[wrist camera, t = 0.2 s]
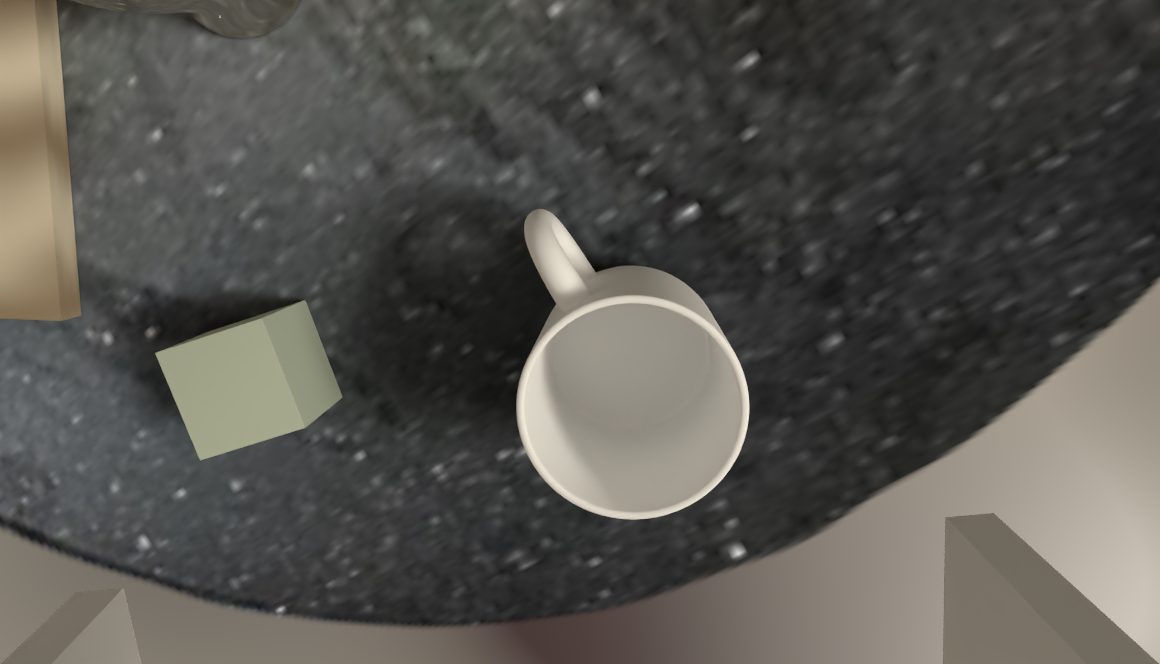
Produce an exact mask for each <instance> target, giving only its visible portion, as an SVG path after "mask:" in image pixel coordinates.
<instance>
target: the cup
mask: <svg viewBox="0 0 1160 664" xmlns="http://www.w3.org/2000/svg"><path fill="white" fill-rule="evenodd" d="M524 235H525V240H526V244H527V247H528V250H529V252H530V255H531V257H532V260H533V262H534V264H535V266H536V268H537V270H538V272H539V274H540V276H541V278H542V280H543V282H544V283H545V285H546V287H547V289H548V290H549V292H550V294H551V296H552V297H553V299H554V301H555V303H556V305H555V307H554V308H553V310H552V312H551V313H550V315H549V317H548V319H547V321H546V323H545V325H544V327H543V329H542V331H541V333H540V335H539V337H538V339H537V341H536V343H535V345H534V347H533V349H532V351H531V353H530V355H529V357H528V359H527V361H526V363H525V365H524V368H523V370H522V374H521V377H520V380H519V385H518V390H517V400H516V414H517V423H518V428H519V433H520V437H521V440H522V443H523V446H524V448H525V450H526V453H527V455H528V457H529V459H530V460H531V462H532V464H533V466H534V467H535V468H536V470H537V471H538V473H539V474H540V475H541V476H542V478H543V479H544V480H545V481H546V482H547V483H548V484H549V485H550V486H551V487H552V488H553V489H554V490H555V491H556V492H558V493H559V494H560V495H561V496H563V497H564V498H566V499H567V500H569V501H570V502H572V503H574V504H575V505H577V506H579V507H581V508H583V509H586V510H588V511H590V512H593V513H596V514H600V515H603V516H608V517H612V518H620V519H647V518H653V517H659V516H663V515H667V514H670V513H673V512H675V511H678V510H681V509H683V508H685V507H687V506H689V505H691V504H692V503H694V502H696V501H698V500H699V499H700V498H702V497H703V496H705V495H706V494H707V493H708V492H710V491H711V490H712V489H713V488H714V487H715V486H716V485H717V484H718V483H719V482H720V481H721V480H722V479H723V478H724V476H725V475H726V474H727V472H728V471H729V470H730V468H731V467H732V465H733V463H734V462H735V460H736V458H737V456H738V454H739V452H740V450H741V447H742V445H743V442H744V439H745V435H746V431H747V426H748V419H749V395H748V389H747V383H746V380H745V376H744V373H743V370H742V368H741V365H740V363H739V361H738V359H737V357H736V355H735V353H734V351H733V349H732V348H731V346H730V344H729V342H728V341H727V339H726V337H725V336H724V334H723V332H722V331H721V329H720V327H719V325H718V324H717V322H716V320H715V319H714V317H713V315H712V314H711V312H710V310H709V309H708V307H707V306H706V304H705V303H704V302H703V301H702V299H701V298H700V297H699V296H698V295H697V294H696V293H695V292H694V291H693V290H692V289H691V288H690V287H689V286H688V285H686V284H685V283H684V282H682V281H681V280H679V279H678V278H676V277H674V276H672V275H670V274H668V273H665V272H663V271H660V270H657V269H654V268H649V267H643V266H618V267H613V268H609V269H605V270H602V271H599V272H595V271H594V269H593V268H592V266H591V265H590V263H589V262H588V260H587V259H586V257H585V256H584V254H583V253H582V251H581V250H580V248H579V247H578V245H577V244H576V242H575V241H574V239H573V238H572V236H571V235H570V234H569V232H568V231H567V230H566V228H565V227H564V226H563V225H562V223H561V222H560V221H559V220H558V219H557V218H556V217H555V216H554V215H553V214H552V213H551V212H549V211H547V210H544V209H537V210H534V211H532V212H531V213H530V214H529V215H528V216H527V218H526V220H525V224H524Z"/></svg>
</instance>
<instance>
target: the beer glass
mask: <svg viewBox="0 0 1160 664" xmlns="http://www.w3.org/2000/svg"><path fill="white" fill-rule="evenodd" d="M70 1H73V2H77V3H81V4H85V5H89V6H93V7H97V8H101V9H106V10H111V11H121V12H132V13H186V14H188V15H189V16H190V17H191V18H193V19H194V20H195V21H196V22H198V23H199V24H201V25H202V26H204V27H205V28H207V29H209V30H210V31H213V32H215V33H217V34H220V35H222V36H226V37H230V38H237V39H248V38H255V37H259V36H263V35H265V34H268V33H270V32H272V31H274V30H275V29H277V28H278V27H280V26H281V25H282V24H284V23H285V22H286V21H287V20H288V19H289V18H290V16H291V15H292V14H293V12H294V11H295V9H296V8H297V6H298V4H299V2H300V0H70Z"/></svg>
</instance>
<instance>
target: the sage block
mask: <svg viewBox="0 0 1160 664" xmlns="http://www.w3.org/2000/svg"><path fill="white" fill-rule="evenodd" d="M155 354H156V356H157V359H158V361H159V364H160V366H161V368H162V371H163V373H164V375H165V378H166V380H167V383H168V385H169V387H170V390H171V392H172V394H173V397H174V399H175V402H176V404H177V406H178V409H179V411H180V414H181V416H182V418H183V421H184V423H185V425H186V428H187V430H188V433H189V435H190V437H191V440H192V442H193V444H194V447H195V449H196V452H197V454H198V456H199V459H200V460H203V459H206V458H209V457H212V456H216V455H219V454H222V453H225V452H228V451H232V450H235V449H238V448H241V447H245V446H248V445H251V444H254V443H258V442H261V441H264V440H267V439H270V438H274V437H277V436H280V435H283V434H287V433H290V432H293V431H296V430H300V429H303V428H306V427H307V426H308V425H309V424H310V423H312V422H313V421H314V420H315V419H317V418H318V417H319V416H320V415H321V414H323V413H324V412H325V411H326V410H328V409H329V408H330V407H331V406H332V405H334V404H335V403H336V402H337V401H339V400H340V399H341V398H342V395H341V392H340V389H339V387H338V384H337V382H336V379H335V376H334V374H333V371H332V369H331V366H330V363H329V361H328V358H327V356H326V353H325V350H324V348H323V345H322V343H321V340H320V337H319V335H318V332H317V330H316V327H315V324H314V322H313V319H312V317H311V314H310V311H309V309H308V306H307V304H306V301H305V300H303V301H300V302H297V303H294V304H291V305H288V306H285V307H282V308H279V309H276V310H273V311H270V312H267V313H264V314H261V315H258V316H254V317H251V318H248V319H245V320H242V321H239V322H236V323H233V324H230V325H227V326H224V327H221V328H218V329H215V330H212V331H209V332H206V333H204V334H201V335H199V336H196V337H194V338H191V339H189V340H186V341H184V342H181V343H179V344H176V345H174V346H171V347H169V348H166V349H164V350H161V351H159V352H156V353H155Z"/></svg>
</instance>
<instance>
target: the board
mask: <svg viewBox="0 0 1160 664" xmlns="http://www.w3.org/2000/svg"><path fill="white" fill-rule="evenodd" d="M77 316H81V306H80V293H79V280H78V268H77V255H76V242H75V230H74V217H73V204H72V192H71V179H70V166H69V154H68V141H67V128H66V115H65V103H64V90H63V77H62V65H61V52H60V39H59V27H58V14H57V1H56V0H0V318H4V319H28V320H51V321H63V320H67V319H70V318H74V317H77Z"/></svg>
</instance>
